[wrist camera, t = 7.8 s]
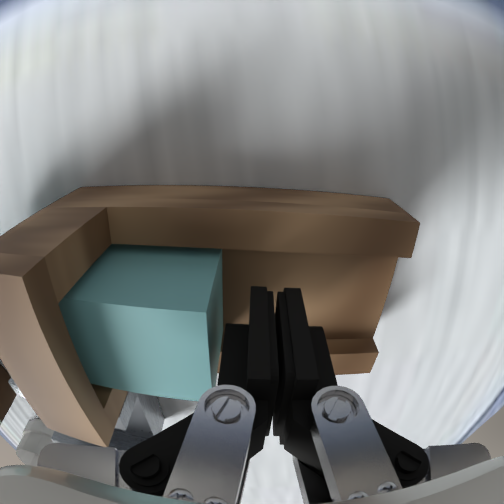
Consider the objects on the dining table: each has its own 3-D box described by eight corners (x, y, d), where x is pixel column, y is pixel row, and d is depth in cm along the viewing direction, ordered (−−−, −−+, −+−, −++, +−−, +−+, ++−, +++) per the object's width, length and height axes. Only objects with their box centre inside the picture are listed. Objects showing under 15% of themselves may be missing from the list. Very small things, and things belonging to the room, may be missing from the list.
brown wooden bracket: (388, 198, 12) (500, 297, 5) (355, 333, 16) (396, 456, 9) (80, 187, 12) (-41, 266, 5) (106, 318, 16) (47, 427, 9)
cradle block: (144, 350, 17) (119, 417, 12) (164, 420, 20) (152, 474, 16) (42, 332, 16) (8, 381, 12) (78, 401, 20) (58, 447, 16)
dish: (155, 502, 34) (151, 526, 30) (32, 446, 30) (22, 469, 25) (213, 476, 26) (209, 514, 21) (23, 389, 21) (3, 424, 17)
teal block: (222, 246, 11) (206, 312, 8) (223, 329, 13) (213, 402, 9) (-4, 238, 11) (-53, 276, 8) (17, 302, 13) (-21, 346, 9)
